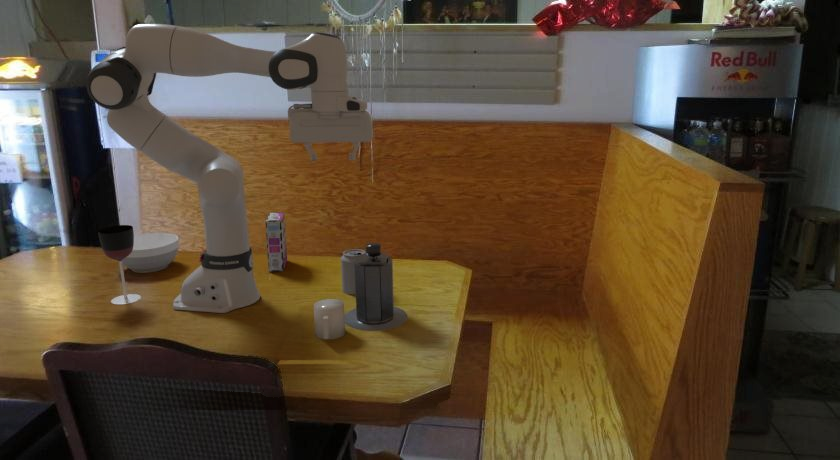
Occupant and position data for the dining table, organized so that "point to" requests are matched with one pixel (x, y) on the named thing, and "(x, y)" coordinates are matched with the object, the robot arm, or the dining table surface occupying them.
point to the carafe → (374, 289)
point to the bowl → (152, 252)
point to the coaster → (352, 321)
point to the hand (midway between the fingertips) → (333, 160)
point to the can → (349, 270)
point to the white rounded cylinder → (329, 319)
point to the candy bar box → (276, 242)
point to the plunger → (373, 250)
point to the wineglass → (119, 253)
